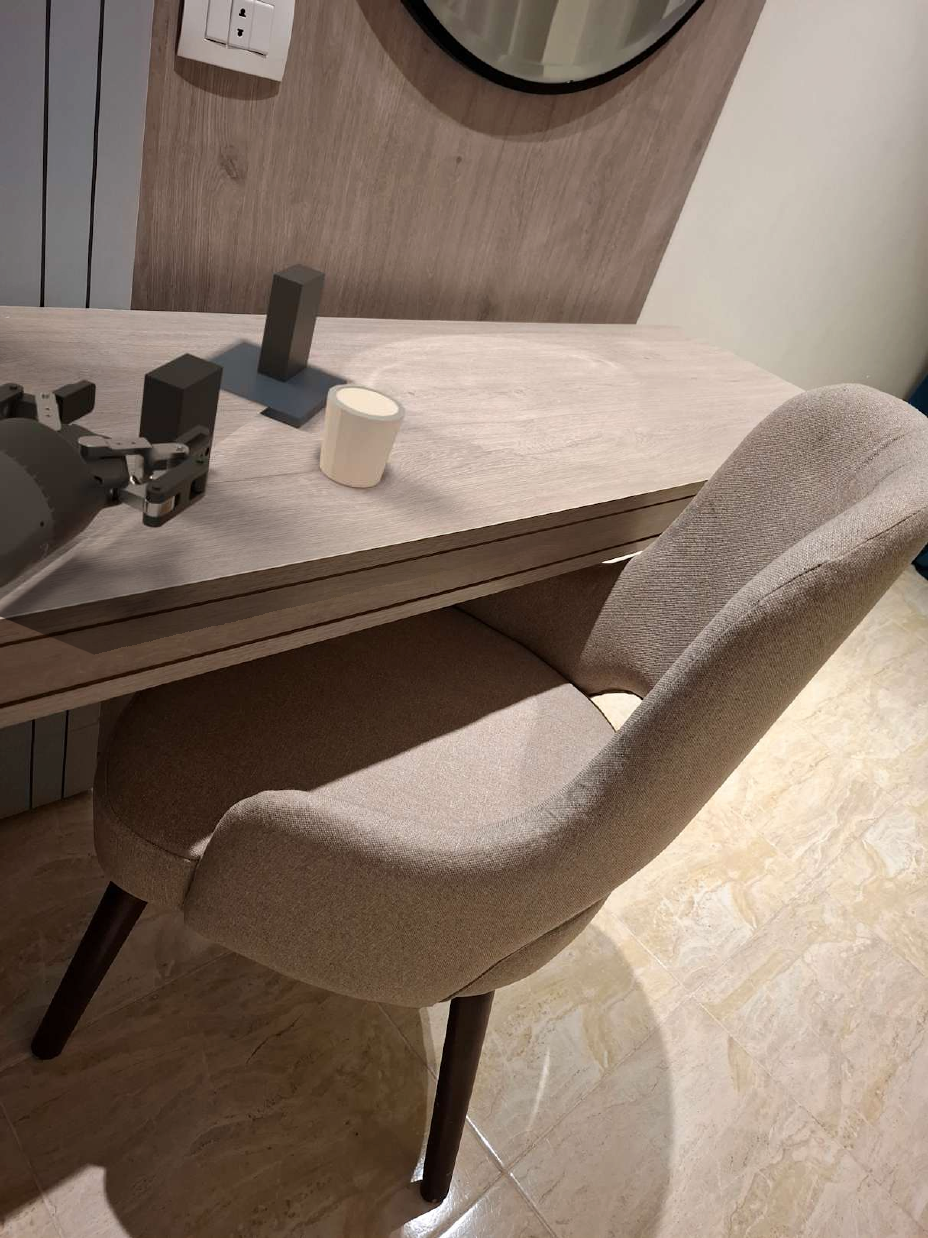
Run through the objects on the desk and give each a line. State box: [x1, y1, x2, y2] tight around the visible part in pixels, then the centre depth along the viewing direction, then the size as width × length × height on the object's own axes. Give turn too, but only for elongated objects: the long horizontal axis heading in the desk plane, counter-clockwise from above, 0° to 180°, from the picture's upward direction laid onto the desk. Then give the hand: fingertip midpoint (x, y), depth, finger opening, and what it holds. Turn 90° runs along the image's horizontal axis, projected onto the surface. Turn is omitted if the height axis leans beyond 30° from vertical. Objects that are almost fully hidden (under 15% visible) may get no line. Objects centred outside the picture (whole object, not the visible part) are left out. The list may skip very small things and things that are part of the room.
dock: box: [208, 262, 348, 428], centre depth 89 cm, size 12×13×11 cm
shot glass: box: [319, 383, 406, 489], centre depth 80 cm, size 7×7×7 cm
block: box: [138, 352, 223, 471], centre depth 68 cm, size 3×6×10 cm, turn 165°
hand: (146, 416), depth 62 cm, fingers open, 8 cm apart
